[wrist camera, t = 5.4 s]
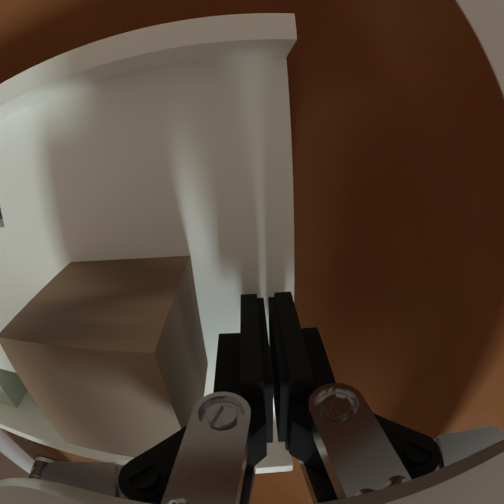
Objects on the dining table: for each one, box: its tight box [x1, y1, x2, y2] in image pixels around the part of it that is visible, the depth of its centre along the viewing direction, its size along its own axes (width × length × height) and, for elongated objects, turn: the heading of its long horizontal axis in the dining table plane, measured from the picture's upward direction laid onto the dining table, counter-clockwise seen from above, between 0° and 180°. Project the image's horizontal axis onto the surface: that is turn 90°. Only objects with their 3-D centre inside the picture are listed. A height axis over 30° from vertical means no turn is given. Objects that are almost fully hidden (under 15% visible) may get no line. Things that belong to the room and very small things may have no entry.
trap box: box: [0, 13, 297, 473], centre depth 11 cm, size 30×20×4 cm, turn 93°
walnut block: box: [0, 256, 208, 457], centre depth 9 cm, size 5×5×5 cm
